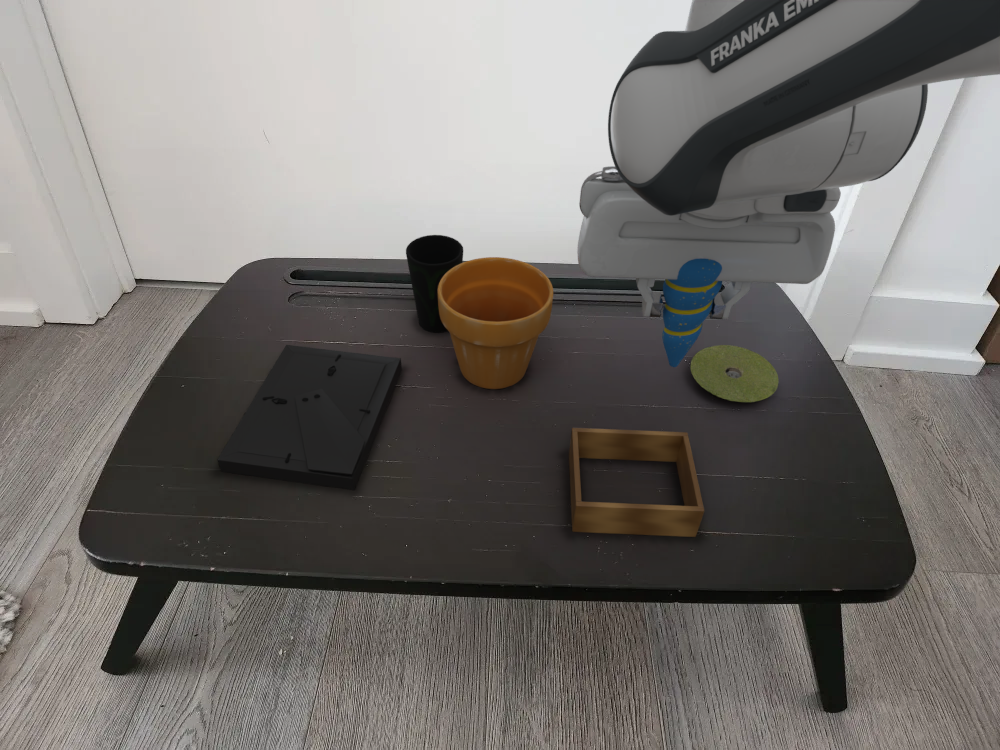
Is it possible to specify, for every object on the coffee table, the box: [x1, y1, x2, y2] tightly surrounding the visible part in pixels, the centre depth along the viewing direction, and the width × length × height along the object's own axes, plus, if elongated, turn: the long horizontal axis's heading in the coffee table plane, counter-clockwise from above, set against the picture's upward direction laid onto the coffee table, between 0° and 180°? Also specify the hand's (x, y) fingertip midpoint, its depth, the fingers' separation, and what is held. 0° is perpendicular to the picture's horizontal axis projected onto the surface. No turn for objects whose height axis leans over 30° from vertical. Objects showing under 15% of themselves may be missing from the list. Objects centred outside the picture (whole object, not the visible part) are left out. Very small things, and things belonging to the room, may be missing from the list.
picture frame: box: [217, 344, 403, 491], centre depth 88 cm, size 16×3×21 cm
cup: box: [405, 234, 464, 334], centre depth 100 cm, size 8×8×12 cm
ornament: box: [661, 258, 723, 368], centre depth 64 cm, size 5×5×15 cm
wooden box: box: [568, 427, 705, 538], centre depth 80 cm, size 13×11×4 cm
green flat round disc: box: [689, 344, 780, 403], centre depth 95 cm, size 11×11×2 cm
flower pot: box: [438, 256, 554, 390], centre depth 93 cm, size 14×14×13 cm
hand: (684, 314), depth 65 cm, fingers closed on ornament, 4 cm apart
